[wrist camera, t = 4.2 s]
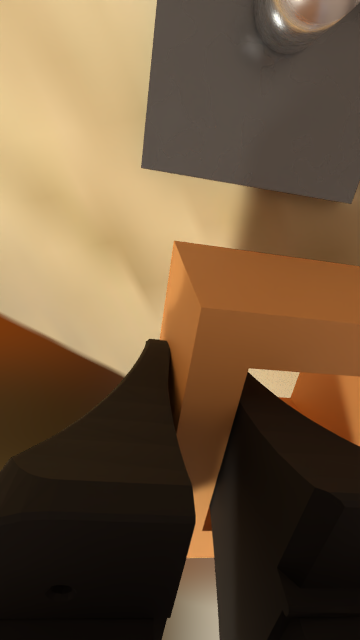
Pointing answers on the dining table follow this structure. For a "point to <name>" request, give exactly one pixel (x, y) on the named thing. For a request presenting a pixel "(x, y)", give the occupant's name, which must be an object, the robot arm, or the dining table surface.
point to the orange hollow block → (255, 350)
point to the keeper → (257, 94)
